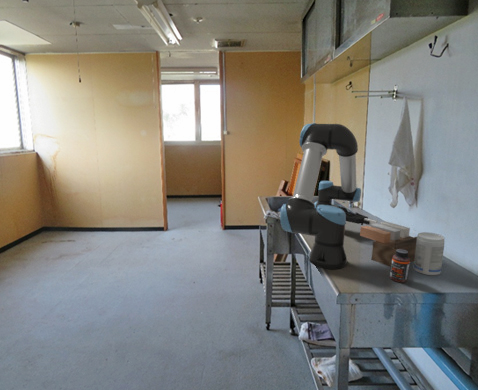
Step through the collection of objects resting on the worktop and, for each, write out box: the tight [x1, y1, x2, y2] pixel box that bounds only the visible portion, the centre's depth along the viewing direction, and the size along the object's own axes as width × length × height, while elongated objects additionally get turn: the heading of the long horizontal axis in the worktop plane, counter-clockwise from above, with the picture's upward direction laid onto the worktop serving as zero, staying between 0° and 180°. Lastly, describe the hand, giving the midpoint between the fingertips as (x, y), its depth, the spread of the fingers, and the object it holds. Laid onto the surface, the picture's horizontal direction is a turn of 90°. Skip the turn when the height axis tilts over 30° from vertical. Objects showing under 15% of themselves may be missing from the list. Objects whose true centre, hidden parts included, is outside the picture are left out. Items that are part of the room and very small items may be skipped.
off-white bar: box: [379, 220, 411, 238], centre depth 156 cm, size 12×4×4 cm, turn 33°
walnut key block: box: [371, 235, 417, 268], centre depth 148 cm, size 10×21×10 cm, turn 123°
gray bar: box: [370, 223, 401, 241], centre depth 152 cm, size 12×4×4 cm, turn 33°
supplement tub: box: [413, 231, 446, 276], centre depth 135 cm, size 10×10×15 cm
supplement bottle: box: [389, 249, 410, 283], centre depth 127 cm, size 6×6×11 cm
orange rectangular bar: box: [359, 225, 391, 243], centre depth 149 cm, size 12×4×4 cm, turn 33°
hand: (376, 224), depth 164 cm, fingers closed
